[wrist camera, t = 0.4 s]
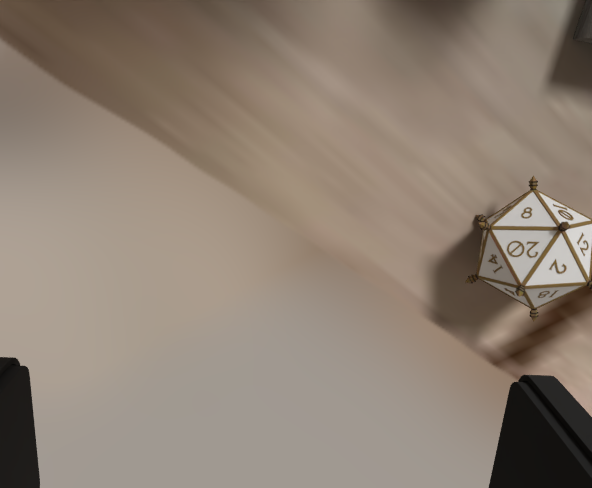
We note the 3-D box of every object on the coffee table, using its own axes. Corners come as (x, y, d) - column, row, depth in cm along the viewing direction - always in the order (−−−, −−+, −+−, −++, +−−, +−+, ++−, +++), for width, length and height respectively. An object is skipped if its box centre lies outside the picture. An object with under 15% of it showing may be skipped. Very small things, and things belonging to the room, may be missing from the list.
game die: (475, 239, 45) (438, 320, 38) (495, 147, 40) (457, 222, 33) (594, 271, 42) (576, 366, 35) (634, 175, 36) (622, 266, 30)
